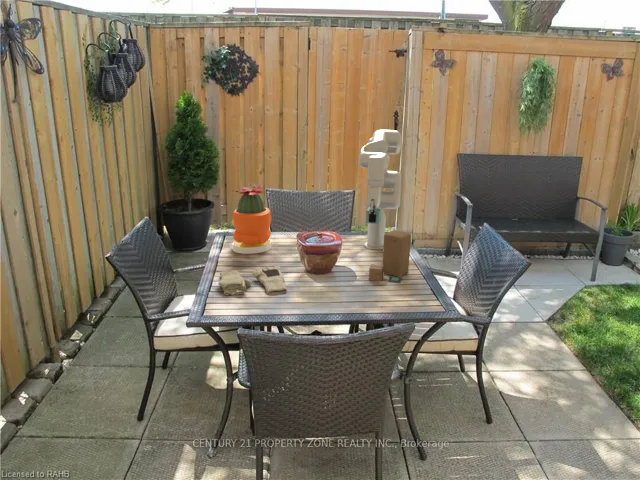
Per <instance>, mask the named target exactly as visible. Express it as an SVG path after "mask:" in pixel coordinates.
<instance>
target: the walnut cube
mask: <svg viewBox="0 0 640 480" xmlns="http://www.w3.org/2000/svg"><path fill="white" fill-rule="evenodd" d="M383 270H384V265H382V264H379V263H378V264H376V263H370V266H369V268H368V280H369V281H377V282H382V280H383V278H384V273H383Z"/></svg>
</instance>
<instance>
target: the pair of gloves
mask: <svg viewBox="0 0 640 480" xmlns="http://www.w3.org/2000/svg"><path fill="white" fill-rule="evenodd" d="M219 275H220V276H219V277H220V278H221V279H220V280H219V281H218V286H220V287H221V288H222V291H223V295H226V296H229V295H231V296H232V297H236V296H238V295H242V294H244V293H247V291H248V290H247V288H250V287H251V285H252V284H253V281H252V280H251V279H249V278H245V277H243V276H242V275H241V274H240V272H239V271H238V270H233V271H230V270H229V271H228V270H226V271H224V270H223V271H221V272H219ZM252 275H253V277H254V278H256V279H257V281H259V282H260V284H262V285H263V286H264V288H265V291H266V293H267V294H268V295H273V294H274V295H275V294H282V293H283V294H284V293H287V292H288V288H287V287H286V285H285V278H284V276H283V274H282V272H281V265H275V266H272V265H267V266H266V268H261V269H255V270H254V271H253V273H252Z"/></svg>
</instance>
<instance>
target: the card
mask: <svg viewBox="0 0 640 480" xmlns="http://www.w3.org/2000/svg"><path fill="white" fill-rule="evenodd" d="M402 279H403V277H401V276H400V277H397V276H392V275H391V276H388V280H387V282H388V283H394V284H395V283H396V284H401V283H402Z"/></svg>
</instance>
